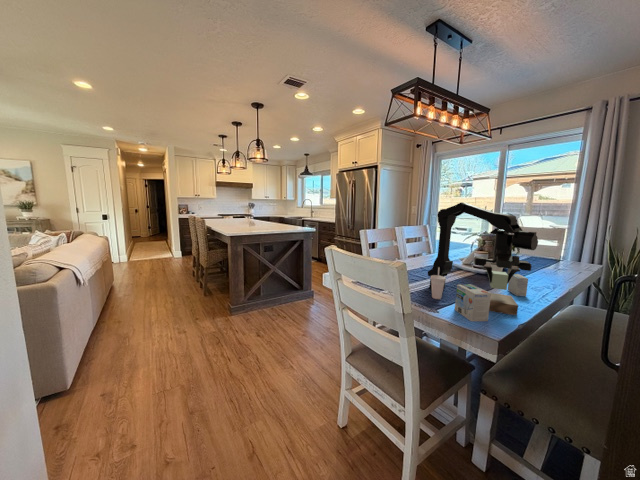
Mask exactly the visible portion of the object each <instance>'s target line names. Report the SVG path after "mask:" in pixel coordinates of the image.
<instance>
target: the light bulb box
mask: <svg viewBox="0 0 640 480" xmlns="http://www.w3.org/2000/svg"><path fill="white" fill-rule="evenodd" d="M491 293H492V292H489V291H487V290H485V289H483V288H481V287H479V286H477V285H474V284H470V283H469V284H457V285H456V294H455V304H454V310H455V312H457V313H459V314H460V315H461V316H463V317H464V318H465V319H467V320H469V321H470V322H488V321H489V315H490V314H489V313H490V311H489V307H490V299H491Z"/></svg>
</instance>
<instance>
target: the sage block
mask: <svg viewBox="0 0 640 480" xmlns="http://www.w3.org/2000/svg"><path fill="white" fill-rule="evenodd" d="M507 282H508V274H507V272H506V271H502V272H498V271H492V282H491V283H490V282H489V287H490V288H491V289H496V290H504V291H508V284H507ZM508 283H509V282H508Z"/></svg>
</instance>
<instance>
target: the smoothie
mask: <svg viewBox="0 0 640 480" xmlns="http://www.w3.org/2000/svg"><path fill="white" fill-rule="evenodd" d="M439 270H440V267H438V275H432V276H431V278H430V279H431V286H432V289H431V298H433V299H435V300H441V299H442V297H443V291H444V290H443V287H444V283H445V284H446V281H447V278H446V276H444V277H443V276H439Z"/></svg>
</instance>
